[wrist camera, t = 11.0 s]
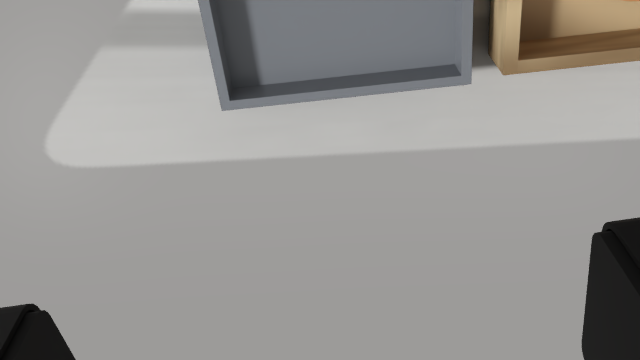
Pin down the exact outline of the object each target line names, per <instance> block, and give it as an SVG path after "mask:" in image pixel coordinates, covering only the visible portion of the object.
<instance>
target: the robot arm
mask: <svg viewBox="0 0 640 360" xmlns="http://www.w3.org/2000/svg"><path fill="white" fill-rule="evenodd" d="M582 352H583V357H584V360H640V218H633V219H626V220H619V221H612V222H607V223H605V224H604V226H603V229H602V232H598V233H594V235H593V237H592V244H591V254H590V264H589V275H588V285H587V295H586V305H585V315H584V325H583V335H582ZM0 360H75V358H74V356H73V354H72V353H71V351H70V349H69V347H68V346H67V344H66V342H65V340H64V339H63V337H62V335H61V333H60V332H59V330H58V328H57V326H56V325H55V323H54V321H53V319H52V318H51V316H50V315H49V313H48V312H46V311H45V310H43V311H41V310H40V309H39V308H38V306H36V305H34V304H25V305H18V306H11V307H3V308H0Z"/></svg>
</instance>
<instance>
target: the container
mask: <svg viewBox="0 0 640 360" xmlns="http://www.w3.org/2000/svg"><path fill="white" fill-rule="evenodd" d="M198 3H199V7H200V12H201V17H202V21H203V26H204V31H205V35H206V40H207V44H208V49H209V54H210V58H211V63H212V68H213V72H214V77H215V81H216V86H217V91H218V95H219V100H220V105H221V109H222V111H226V110H235V109H244V108H253V107H263V106H272V105H281V104H291V103H300V102H309V101H319V100H328V99H337V98H346V97H356V96H365V95H374V94H384V93H393V92H402V91H412V90H421V89H430V88H439V87H449V86H458V85H467V84H471V76H472V35H473V0H198Z"/></svg>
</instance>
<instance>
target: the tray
mask: <svg viewBox="0 0 640 360" xmlns="http://www.w3.org/2000/svg"><path fill="white" fill-rule="evenodd" d="M488 54H489V56H490V57H491V58H492V60H493V61H494V63H495V64H496V66H497V67H498V68H499V70H500V71H501V73H502V74H503V75H510V74H519V73H529V72H538V71H547V70H556V69H566V68H575V67H584V66H593V65H603V64H612V63H621V62H631V61H640V1H623V0H490V20H489V45H488Z"/></svg>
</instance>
